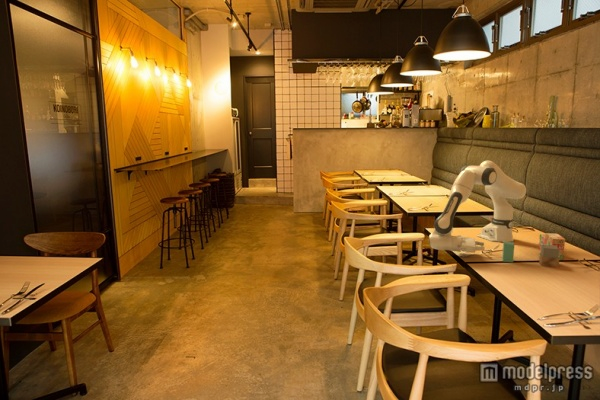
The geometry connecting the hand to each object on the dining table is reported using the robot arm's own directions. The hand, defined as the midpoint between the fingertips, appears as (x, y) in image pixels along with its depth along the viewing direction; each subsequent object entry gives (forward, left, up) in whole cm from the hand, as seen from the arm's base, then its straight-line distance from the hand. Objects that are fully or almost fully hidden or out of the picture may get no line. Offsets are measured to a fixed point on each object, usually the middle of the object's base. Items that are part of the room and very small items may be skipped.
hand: (484, 246), depth 236 cm
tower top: (+24, +21, -2) cm, 32 cm away
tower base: (+24, +21, -7) cm, 33 cm away
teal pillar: (+9, +8, -7) cm, 14 cm away
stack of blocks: (+14, +40, -7) cm, 43 cm away
